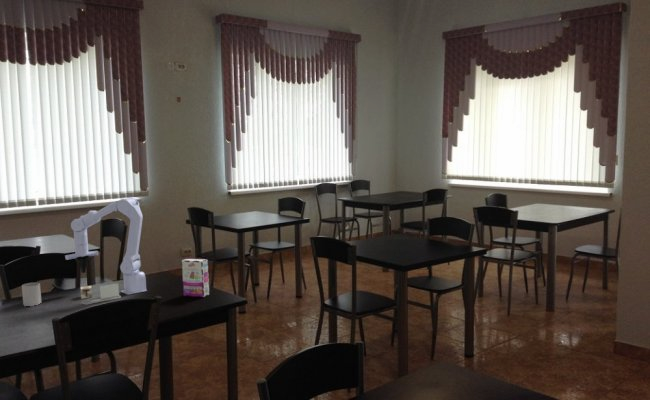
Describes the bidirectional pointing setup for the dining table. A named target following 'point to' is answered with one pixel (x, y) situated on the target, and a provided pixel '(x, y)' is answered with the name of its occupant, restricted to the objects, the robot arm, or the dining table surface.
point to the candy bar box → (195, 277)
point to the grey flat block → (109, 291)
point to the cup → (31, 294)
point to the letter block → (86, 292)
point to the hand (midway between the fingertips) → (83, 272)
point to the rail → (100, 300)
